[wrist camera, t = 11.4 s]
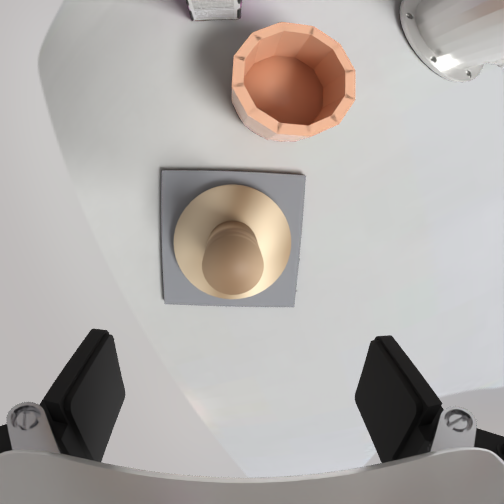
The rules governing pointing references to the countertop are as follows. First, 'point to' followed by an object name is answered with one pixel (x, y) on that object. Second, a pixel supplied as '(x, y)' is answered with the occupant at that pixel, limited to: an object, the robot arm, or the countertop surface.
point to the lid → (232, 241)
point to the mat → (198, 181)
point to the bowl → (291, 82)
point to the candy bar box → (214, 9)
